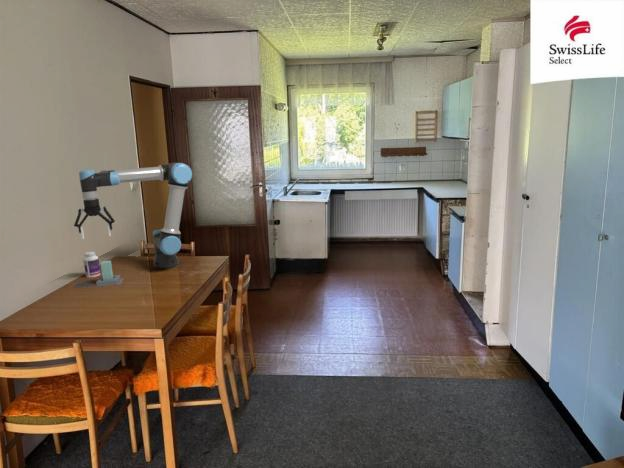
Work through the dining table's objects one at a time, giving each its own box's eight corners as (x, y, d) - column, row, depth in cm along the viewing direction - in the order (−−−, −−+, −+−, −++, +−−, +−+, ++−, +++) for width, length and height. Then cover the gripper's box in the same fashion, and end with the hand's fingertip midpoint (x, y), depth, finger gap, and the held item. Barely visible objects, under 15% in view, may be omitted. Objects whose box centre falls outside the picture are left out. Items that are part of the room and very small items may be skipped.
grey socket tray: (123, 279, 269) (123, 274, 268) (120, 285, 258) (119, 280, 257) (97, 282, 266) (97, 276, 265) (93, 288, 255) (92, 282, 255)
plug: (113, 280, 264) (110, 260, 262) (112, 283, 260) (109, 262, 257) (105, 281, 263) (102, 261, 261) (103, 284, 259) (100, 263, 257)
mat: (95, 282, 266) (95, 281, 266) (91, 287, 257) (91, 286, 257) (78, 283, 264) (77, 282, 264) (73, 288, 255) (73, 287, 255)
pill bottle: (103, 274, 281) (100, 250, 277) (96, 278, 273) (92, 254, 270) (90, 274, 281) (87, 251, 278) (83, 278, 274) (79, 254, 270)
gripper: (116, 195, 260) (121, 233, 265) (66, 200, 253) (73, 238, 258) (114, 197, 253) (120, 235, 258) (64, 202, 246) (70, 241, 251)
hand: (97, 237), depth 258 cm, fingers open, 13 cm apart
